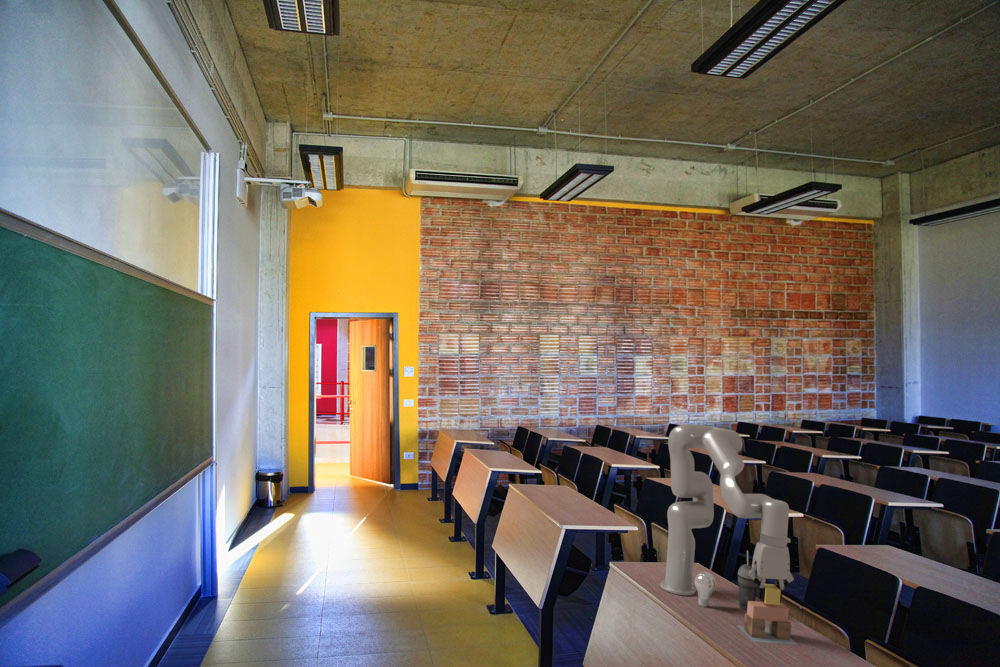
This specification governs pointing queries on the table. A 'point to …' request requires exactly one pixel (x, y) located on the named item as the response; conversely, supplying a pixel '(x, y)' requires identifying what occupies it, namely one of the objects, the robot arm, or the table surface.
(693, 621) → the table surface
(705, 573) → the light bulb
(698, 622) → the table surface
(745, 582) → the beverage cup
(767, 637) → the board
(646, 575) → the table surface
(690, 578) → the robot arm
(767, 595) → the cube
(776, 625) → the pier
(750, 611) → the beam
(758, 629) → the block
